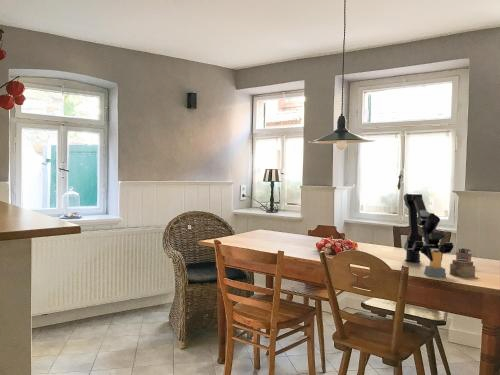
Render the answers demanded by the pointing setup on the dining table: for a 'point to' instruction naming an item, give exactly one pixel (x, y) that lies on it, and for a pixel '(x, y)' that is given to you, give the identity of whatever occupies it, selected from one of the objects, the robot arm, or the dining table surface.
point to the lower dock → (435, 271)
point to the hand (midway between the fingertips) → (436, 261)
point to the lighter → (463, 254)
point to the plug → (436, 259)
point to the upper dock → (462, 268)
